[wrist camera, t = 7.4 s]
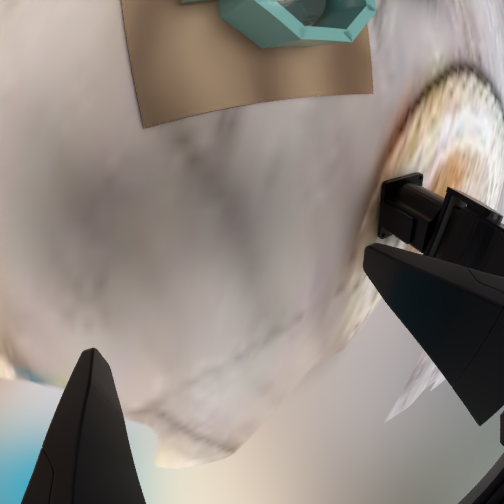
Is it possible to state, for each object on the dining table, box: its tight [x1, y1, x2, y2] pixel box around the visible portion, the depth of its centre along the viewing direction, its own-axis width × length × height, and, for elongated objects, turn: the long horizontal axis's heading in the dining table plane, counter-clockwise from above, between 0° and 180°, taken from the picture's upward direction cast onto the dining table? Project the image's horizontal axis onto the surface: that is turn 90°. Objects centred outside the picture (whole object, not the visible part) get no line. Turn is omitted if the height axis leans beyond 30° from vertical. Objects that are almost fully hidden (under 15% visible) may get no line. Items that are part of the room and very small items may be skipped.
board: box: [121, 0, 373, 128], centre depth 14 cm, size 18×14×1 cm
